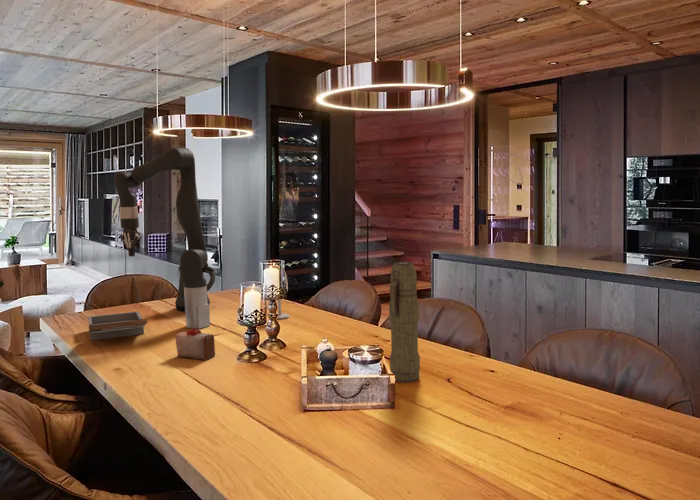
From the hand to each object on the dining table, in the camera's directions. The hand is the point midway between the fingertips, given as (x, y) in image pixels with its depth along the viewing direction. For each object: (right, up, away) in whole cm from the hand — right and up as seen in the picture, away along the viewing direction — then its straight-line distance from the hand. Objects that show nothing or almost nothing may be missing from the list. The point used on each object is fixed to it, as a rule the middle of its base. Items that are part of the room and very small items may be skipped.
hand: (131, 256), depth 258 cm
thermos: (+114, -36, -83) cm, 145 cm away
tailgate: (+4, -29, -27) cm, 40 cm away
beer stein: (+22, -26, +26) cm, 43 cm away
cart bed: (0, -31, -18) cm, 36 cm away
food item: (+43, -35, -55) cm, 78 cm away
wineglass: (+66, -28, +2) cm, 71 cm away
